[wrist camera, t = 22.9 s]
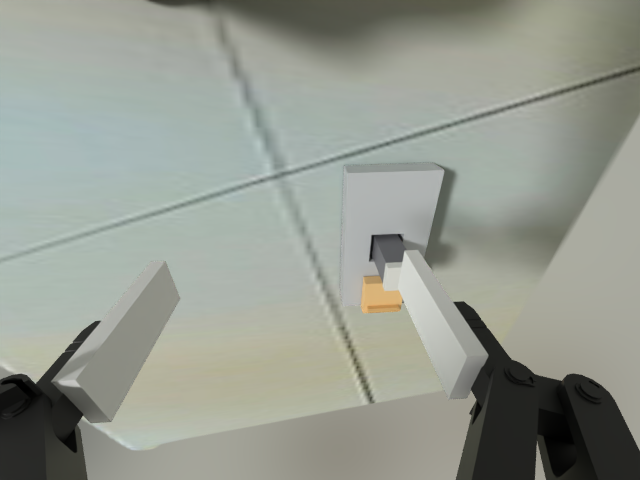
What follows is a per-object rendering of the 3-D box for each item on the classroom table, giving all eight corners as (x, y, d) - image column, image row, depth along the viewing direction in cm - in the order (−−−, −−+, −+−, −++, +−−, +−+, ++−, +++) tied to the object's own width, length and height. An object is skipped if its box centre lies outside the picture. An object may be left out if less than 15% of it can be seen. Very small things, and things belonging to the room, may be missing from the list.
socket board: (343, 165, 41) (347, 173, 37) (433, 162, 41) (444, 170, 38) (339, 291, 54) (342, 306, 51) (407, 288, 55) (413, 302, 51)
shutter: (363, 276, 47) (366, 287, 45) (402, 274, 47) (407, 285, 45) (360, 305, 51) (363, 316, 48) (396, 303, 51) (401, 314, 49)
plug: (369, 226, 47) (388, 267, 36) (392, 225, 47) (418, 266, 37) (367, 246, 49) (384, 291, 39) (389, 245, 49) (412, 289, 39)
